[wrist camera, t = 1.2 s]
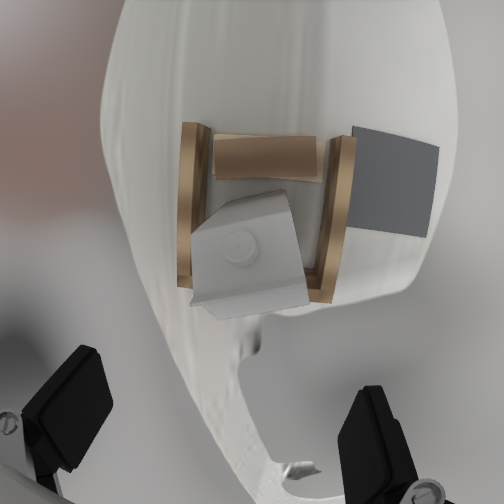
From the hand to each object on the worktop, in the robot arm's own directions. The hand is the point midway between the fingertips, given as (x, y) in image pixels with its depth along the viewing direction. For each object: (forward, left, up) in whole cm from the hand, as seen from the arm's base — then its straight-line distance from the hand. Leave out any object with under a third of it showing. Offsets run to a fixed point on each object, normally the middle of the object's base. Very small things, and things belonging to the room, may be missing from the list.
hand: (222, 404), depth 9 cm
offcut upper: (-8, 0, -25) cm, 26 cm away
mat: (-7, +15, -27) cm, 32 cm away
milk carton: (0, 0, -28) cm, 28 cm away
